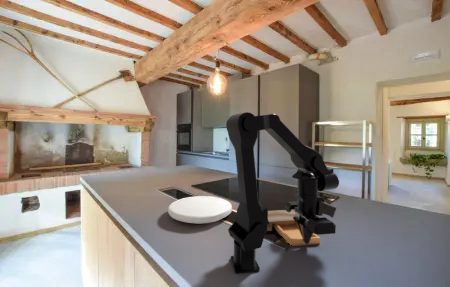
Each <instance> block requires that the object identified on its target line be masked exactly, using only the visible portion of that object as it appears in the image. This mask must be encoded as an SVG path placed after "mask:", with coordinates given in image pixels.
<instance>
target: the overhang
mask: <svg viewBox="0 0 450 287" xmlns="http://www.w3.org/2000/svg"><path fill="white" fill-rule="evenodd" d="M294 211H295V210H291V212H287V211H286V210H285V209H280V210H279V209H277V210H268V221H269V223H270V224H267V225H268V227H267V232H272V231H273V224H278V223H293V222H295V220H294V219H293V217H295V212H294Z"/></svg>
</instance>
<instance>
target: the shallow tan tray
mask: <svg viewBox="0 0 450 287" xmlns="http://www.w3.org/2000/svg"><path fill="white" fill-rule="evenodd" d="M272 228H273V229H275V231H276V232H277V233H278V234H279V235H280V237H281V236H282V237H283V238H284V239H285V240H286V241H285V240H284V239H283V238H282V237H281V238H282V239H283V240H284V241H285V243H286V244H287V243H289V244H290V245H292V246H291V247H298V246H299V247H301V246H311V245H320V244H321V237H320V236H319V235H317V234H314V233H313V234H312V237H311V239H310V242H309V243H308V244H306V243H305V242H304V240H303V238H302V236H301V233H300V231H299V229H298V227H297V225H296V222H293V223H278V224H272Z"/></svg>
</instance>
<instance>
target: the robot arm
mask: <svg viewBox="0 0 450 287" xmlns="http://www.w3.org/2000/svg"><path fill="white" fill-rule="evenodd" d="M225 127H226V132H227V135H228V139H229V141H230V143H231V145H232V146H233V148H234V153H235V162H236V173H237V182H238V184H237V185H238V191H239V192H238V193H239V204H238V206H237V209H236V218H235V220H234V221H233V223H232V224H231V225H230V226H229V228H228V229H227V231H228V234H229V236H230V237H231V238H232V239H233V255H231V256H230V257H229V258H230V263H231V265H232V267H233V271H234V273H235V274H243V273H251V272H259V271H260V270H261V268H260V265H259V263H258V262H257V260H256V253H257V252H256V250H257V249H261V248H262V245H263V242H264V238H265V236H266V233H267V232H268V231H267V227H268V225H267V224H270V223H269V221H268V211H269V210H268V208H267V207H264V205H262V204H260V202H259V193H258V192H259V191H258V183H257V172H256V170H257V169H256V161H255V160H256V159H255V151H254V150H255V145H256V142H257V140H258V136H259V135H258V134H259V131H265V132H267V134H268V135H269V136H271V137H272V138H273V139H274V141H276V142H277V143H278V144H279V145H280V146H281V147H282V148H283V149H284V151H286V152H287V153H288V154H289V155H290V156H289V157H290V159H291V162H292V163H293V164H294V166H295V167H296V168H297V169H298V170H297V171H296V172H295V173H293V175H291V177H292V179H296V180H297V193H296V194H294V198H295V199H297V200H296V201H286V203H285V204H284V210H286V211H287V212H291V210H295V211H294V212H295V217H293V219H294V220H295V222H296V225H297V227H298V229H299V231H300V233H301V236H302V238H303V240H304V242H305V243H306V244H308V243H309V242H310V239H311V237H312V234H313V233H314V234H316V235H317V236H319V235H334V234H336V233H337V225H336V224H335V223H334V222H333V221H331V220H330V219H329V218H327V217H323V215H327V216H329V217H330V218H334V216H335V213H336V211H337V207H336V206H335V205H332V204H330V203H328V202H326V201H325V199H324V198H323V197H321V196H319V192H325V191H331V190H335V189H337V188H338V186H339V185H340V180H339V177H338V175H337V174H336V173H334V168H329V167H327V165H326V164H325V161H324V160H323V156H322V154H321V153H319V152H318V151H317V150H315V149H314V148H312V147H309V146H307V145H305V143H303V142H302V140H300V139H299V138H298V137H297V136H296V135H295V134H294V133H293V132H292V131H291V129H289V127H287V126H286V124H284V122H283V121H282V120H281V118H280V116H279V115H277V114H275V113H268V114H262V115H261V114H260V115H255V114H253V113H251V112H248V111H247V112H241V113H240V112H239V113H235V114H232V115H230V116H229V117H228V119H227V120H226V126H225ZM319 216H320V217H319ZM321 216H322V217H321Z"/></svg>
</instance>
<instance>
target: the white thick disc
mask: <svg viewBox="0 0 450 287" xmlns="http://www.w3.org/2000/svg"><path fill="white" fill-rule="evenodd" d="M232 211H233V206H232V203H231V202H230V201H228V200H227V199H223V198H220V197H217V196H212V195H211V196H210V195H209V196H208V195H198V196H197V195H196V196H188V197H183V198H180V199H178V200H175V201H173V202H172V203H170V204H169V206H168V208H167V212H168V215H169V216H170V217H171V218H172V219H174V220H176V221H178V222H183V223H189V224H196V225H197V224H210V223H215V222H218V221H220V220H222V219H223V218H227V216H229V215H231V213H232Z"/></svg>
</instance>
